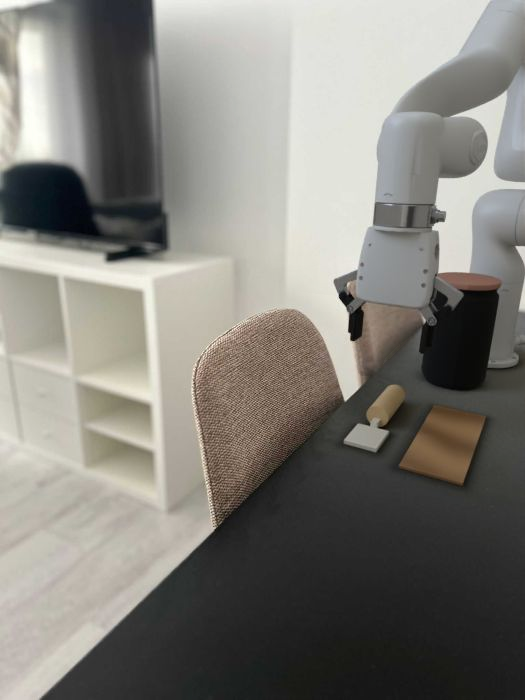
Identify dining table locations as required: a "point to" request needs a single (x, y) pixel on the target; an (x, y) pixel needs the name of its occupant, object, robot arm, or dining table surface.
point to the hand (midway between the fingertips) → (388, 344)
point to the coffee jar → (463, 333)
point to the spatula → (376, 420)
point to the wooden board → (444, 445)
